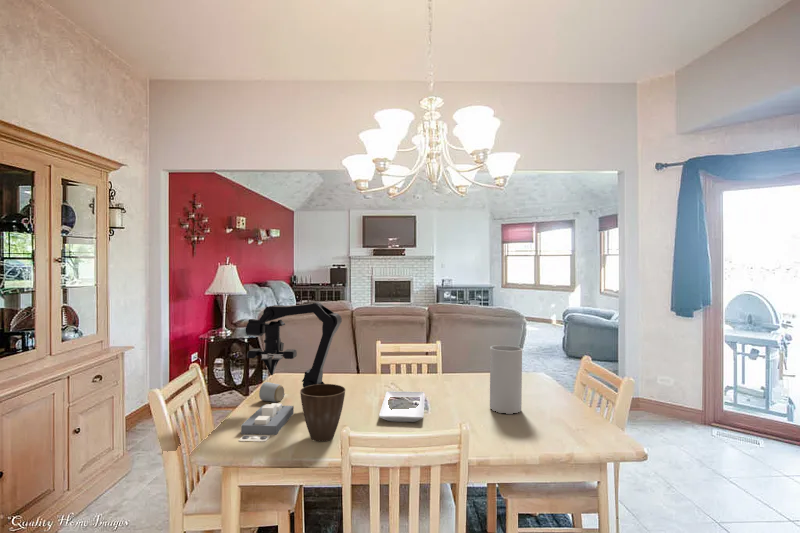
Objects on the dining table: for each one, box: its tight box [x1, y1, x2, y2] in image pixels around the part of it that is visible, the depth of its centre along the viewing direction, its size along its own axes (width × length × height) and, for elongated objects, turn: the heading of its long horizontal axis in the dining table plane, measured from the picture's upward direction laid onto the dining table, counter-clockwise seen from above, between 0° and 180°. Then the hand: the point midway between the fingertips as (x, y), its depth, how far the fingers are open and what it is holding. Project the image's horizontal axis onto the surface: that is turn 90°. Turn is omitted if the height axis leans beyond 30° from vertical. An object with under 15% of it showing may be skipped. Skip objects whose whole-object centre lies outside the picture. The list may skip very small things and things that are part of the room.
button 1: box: [254, 416, 270, 425], centre depth 146 cm, size 4×4×4 cm
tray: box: [378, 390, 426, 423], centre depth 169 cm, size 17×32×4 cm, turn 176°
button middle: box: [261, 403, 277, 418], centre depth 153 cm, size 4×4×4 cm
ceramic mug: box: [258, 381, 286, 403], centre depth 180 cm, size 11×8×8 cm
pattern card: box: [237, 434, 272, 443], centre depth 139 cm, size 9×5×1 cm, turn 88°
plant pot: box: [299, 383, 346, 443], centre depth 141 cm, size 15×15×16 cm
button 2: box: [271, 402, 283, 411], centre depth 160 cm, size 4×4×4 cm
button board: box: [240, 404, 295, 436], centre depth 153 cm, size 12×21×3 cm, turn 178°
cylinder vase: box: [489, 344, 523, 415], centre depth 171 cm, size 12×12×25 cm
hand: (271, 374), depth 170 cm, fingers closed
